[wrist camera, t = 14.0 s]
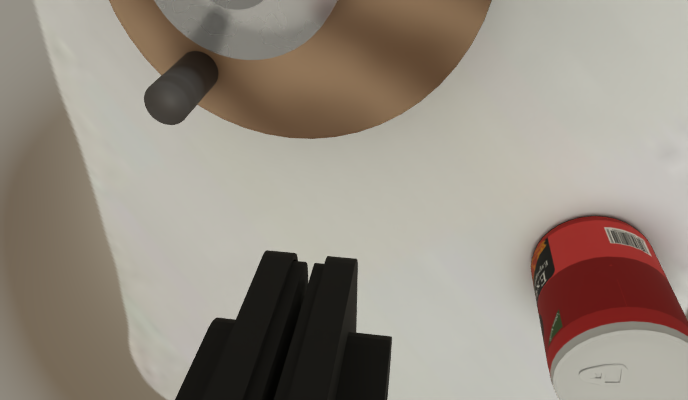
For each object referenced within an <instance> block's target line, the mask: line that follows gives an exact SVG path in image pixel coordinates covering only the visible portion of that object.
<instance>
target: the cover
mask: <svg viewBox="0 0 688 400" xmlns="http://www.w3.org/2000/svg"><path fill="white" fill-rule="evenodd" d="M154 1H155V3H156V4H157V6H158V7H159V9H160V10H161V11H162V13H163V14H164V15H165V16H166V18H167V19H168V20H169V21H170V22H171V23H172V24H173V25H174V26H175V27H176V28H177V29H178V30H179V31H180V32H181V33H183V34H184V35H185V36H186V37H187V38H189V39H190V40H192V41H193V42H195V43H196V44H198V45H200V46H201V47H203V48H205V49H207V50H209V51H212V52H214V53H217V54H219V55H222V56H226V57H230V58H234V59H242V60H262V59H269V58H273V57H277V56H280V55H283V54H286V53H288V52H290V51H292V50H294V49H296V48H297V47H299V46H301V45H302V44H304V43H305V42H306V41H307V40H309V39H310V38H311V37H312V36H313V35H314V34H315V33H316V32H317V31H318V30H319V29H320V28H321V27H322V25H323V24H324V22H325V21H326V19H327V18H328V16H329V15H330V13H331V12H332V10H333V8H334V6H335V5H336V3H337V1H338V0H154Z"/></svg>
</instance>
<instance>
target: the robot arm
mask: <svg viewBox="0 0 688 400" xmlns="http://www.w3.org/2000/svg"><path fill="white" fill-rule="evenodd" d="M357 273H358V262H357V259H352V258H341V257H331V256H327V258H326V261H325V264H320V263H315V264H314V266H313V270H312V273H311V276H310V280H309V283H308V267H307V263H306V262H299V261H298V258H297V254H296V253H288V252H278V251H265V253H264V254H263V256H262V259H261V261H260V264H259V266H258V268H257V271H256V273H255V276H254V278H253V280H252V283H251V285H250V287H249V290H248V292H247V295H246V297H245V299H244V302H243V304H242V306H241V309H240V311H239V314H238V316H237V318H236V320H234V319H225V318H216V319H214V320H213V321H212V323H211V325H210V326H209V328H208V330H207V333H206V335H205V337H204V339H203V341H202V343H201V345H200V347H199V350H198V352H197V354H196V356H195V358H194V360H193V362H192V365H191V367H190V369H189V371H188V373H187V375H186V377H185V380H184V382H183V384H182V386H181V388H180V390H179V392H178V395H177V397H176V399H175V400H387V397H388V385H389V373H390V360H391V345H392V337H390V336H381V335H372V334H363V333H356V317H357Z"/></svg>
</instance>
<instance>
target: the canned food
mask: <svg viewBox="0 0 688 400" xmlns="http://www.w3.org/2000/svg"><path fill="white" fill-rule="evenodd" d="M531 272H532V279H533V285H534V290H535V296H536V301H537V307H538V313H539V318H540V324H541V330H542V335H543V341H544V346H545V352H546V358H547V363H548V368H549V372H550V377H551V382H552V384H553V387H554V390H555V392H556V395H557V397H558V398H559V399H560V400H688V321H687V319H686V316H685V314H684V312H683V310H682V308H681V306H680V304H679V302H678V300H677V298H676V296H675V294H674V292H673V290H672V288H671V286H670V284H669V282H668V279H667V277H666V275H665V273H664V271H663V269H662V267H661V265H660V263H659V261H658V259H657V257H656V255H655V253H654V251H653V249H652V247H651V245H650V243H649V242H648V240H647V239H646V238H645V237H644V236H643V235H642V234H641V233H640V232H639V231H637V230H636V229H635V228H633V227H632V226H630V225H629V224H627V223H625V222H623V221H620V220H617V219H614V218H609V217H601V216H590V217H581V218H577V219H573V220H570V221H567V222H565V223H563V224H560V225H558V226H557V227H555V228H554V229H552V230H551V231H549V232H548V233H547V234H546V235H545V236H544V237H543V238H542V239H541V241H540V242H539V244H538V245H537V247H536V250H535V252H534V255H533V258H532V264H531Z"/></svg>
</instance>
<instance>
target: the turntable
mask: <svg viewBox="0 0 688 400" xmlns="http://www.w3.org/2000/svg"><path fill="white" fill-rule="evenodd" d="M109 1H110V3H111V6H112V8H113V10H114V12H115V14H116V16H117V17H118V19H119V21H120V22H121V24H122V26H123V27H124V29H125V31H126V32H127V34H128V36H129V37H130V39H131V40H132V41H133V43H134V44H135V45H136V47H137V48H138V49H139V50H140V52H141V53H142V54H143V56H144V57H145V58H146V59H147V61H148V62H149V63H150V64H151V65H152V66H153V67H154V68H155V69H156V70H157V71H158V72H159V73H160V74H161V75H162V76H161V77H160V78H158V79H157V80H156V81H155V82H154V83H153V84H152V85H151V86H150V87H148V89H147V90H146V92H145V96H144V102H145V106H146V109H147V110H148V112H149V113H150V115H151V116H152V117H153V118H154V119H156V120H157V121H159V122H161V123H163V124H167V125H175V124H178V123H180V122H182V121H183V120H184V119H185V118H186V117H187V116H188V114H189V113H190V112H191V111H192V110H193V109H194V108H195V106H196V105H197V104H198V105H199V106H201V107H202V108H204V109H206V110H208V111H209V112H211V113H213V114H215V115H217V116H219V117H220V118H222V119H224V120H227V121H229V122H232V123H234V124H237V125H239V126H242V127H244V128H247V129H251V130H254V131H258V132H261V133H265V134H269V135H276V136H282V137H288V138H308V139H315V138H327V137H337V136H342V135H347V134H351V133H356V132H360V131H363V130H366V129H369V128H371V127H374V126H377V125H380V124H382V123H384V122H386V121H388V120H390V119H392V118H394V117H396V116H398V115H400V114H402V113H403V112H405V111H407V110H408V109H410V108H411V107H413V106H414V105H416V104H417V103H419V102H420V101H421V100H423V99H424V98H425V97H426V96H427V95H428V94H430V93H431V92H432V91H433V90H434V89H435V88H437V87H438V86H439V85H440V84H441V83H442V82H443V80H444V79H445V78H446V77H447V76H448V75H449V74H450V73H451V72H452V71H453V69H454V68H455V67H456V66H457V65H458V63H459V62H460V60H461V59H462V57H463V56H464V55H465V53H466V52H467V50H468V49H469V47H470V46H471V44H472V43H473V41H474V39H475V37H476V35H477V33H478V31H479V29H480V27H481V25H482V23H483V21H484V19H485V17H486V14H487V11H488V9H489V6H490V3H491V1H492V0H338V1H337V3H336V5H335V6H334V8H333V10H332V12H331V13H330V15H329V16H328V18H327V19H326V21H325V22H324V24H323V25H322V27H321V28H320V29H319V30H318V31H317V32H316V33H315V34H314V35H313V36H312V37H311V38H310V39H309V40H307V41H306V42H305V43H304V44H302V45H301V46H299V47H297V48H296V49H294V50H292V51H290V52H288V53H286V54H283V55H280V56H277V57H273V58H269V59H262V60H242V59H234V58H230V57H226V56H222V55H219V54H217V53H214V52H212V51H209V50H207V49H205V48H203V47H201V46H200V45H198V44H196V43H195V42H193V41H192V40H190V39H189V38H187V37H186V36H185V35H184V34H183V33H181V32H180V31H179V30H178V29H177V28H176V27H175V26H174V25H173V24H172V23H171V22H170V21H169V20H168V19H167V18H166V16H165V15H164V14H163V13H162V11H161V10H160V9H159V7H158V6H157V4H156V3H155V1H154V0H109Z"/></svg>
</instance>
